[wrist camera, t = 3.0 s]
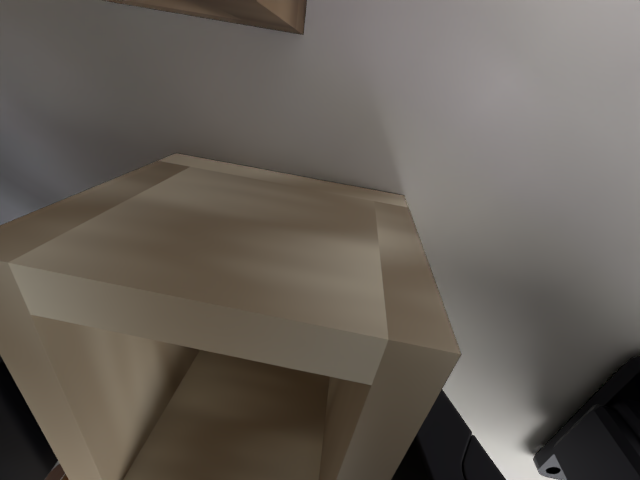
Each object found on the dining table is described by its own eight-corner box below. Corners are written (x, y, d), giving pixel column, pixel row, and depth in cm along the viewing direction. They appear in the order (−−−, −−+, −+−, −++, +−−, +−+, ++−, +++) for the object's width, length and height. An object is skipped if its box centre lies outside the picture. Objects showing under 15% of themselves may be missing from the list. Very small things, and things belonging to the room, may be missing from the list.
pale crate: (404, 195, 8) (461, 353, 3) (349, 373, 11) (342, 567, 7) (175, 152, 8) (-58, 249, 3) (191, 340, 11) (84, 507, 7)
